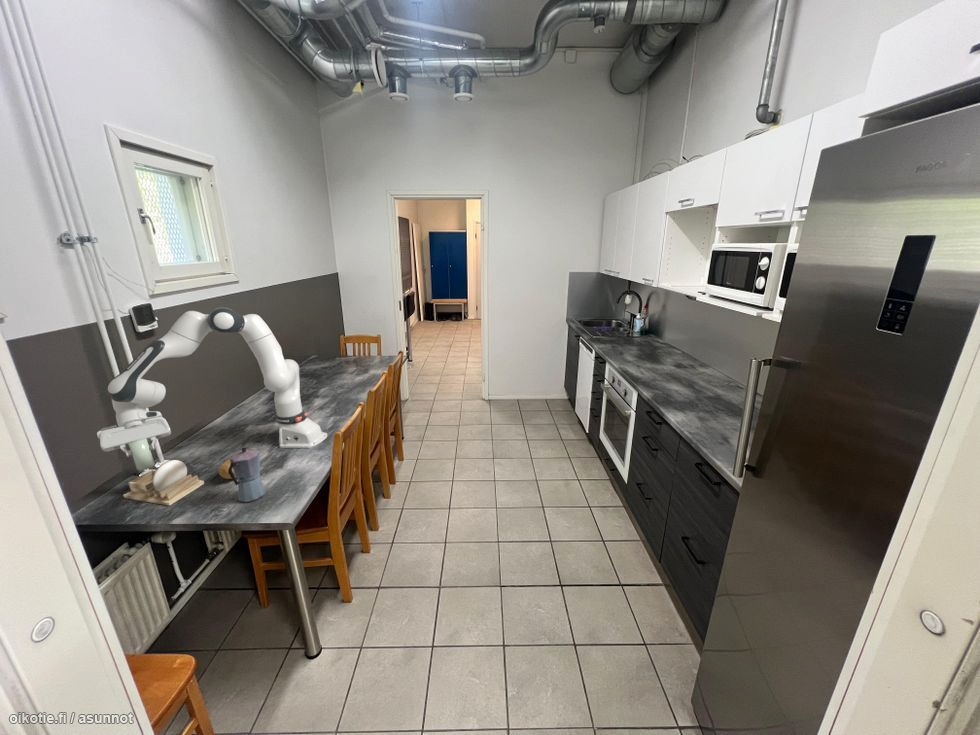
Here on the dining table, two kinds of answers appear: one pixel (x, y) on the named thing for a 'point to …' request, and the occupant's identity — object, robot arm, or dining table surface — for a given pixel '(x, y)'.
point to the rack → (163, 484)
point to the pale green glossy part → (141, 454)
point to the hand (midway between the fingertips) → (141, 452)
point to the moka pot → (247, 474)
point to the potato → (226, 470)
